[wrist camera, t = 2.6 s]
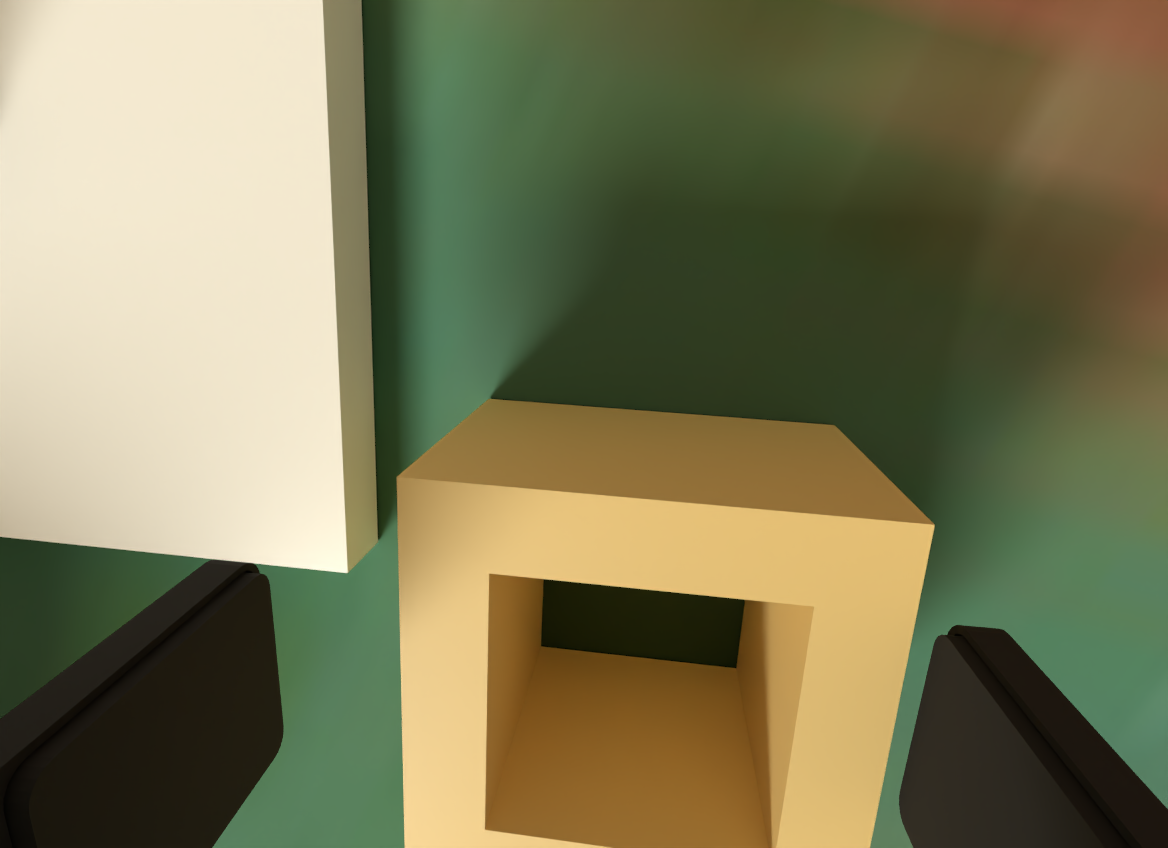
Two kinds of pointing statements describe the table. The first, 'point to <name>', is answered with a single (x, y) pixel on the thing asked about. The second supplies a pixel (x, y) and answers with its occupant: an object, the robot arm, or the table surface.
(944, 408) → the table surface
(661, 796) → the collar
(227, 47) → the post stand
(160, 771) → the robot arm
